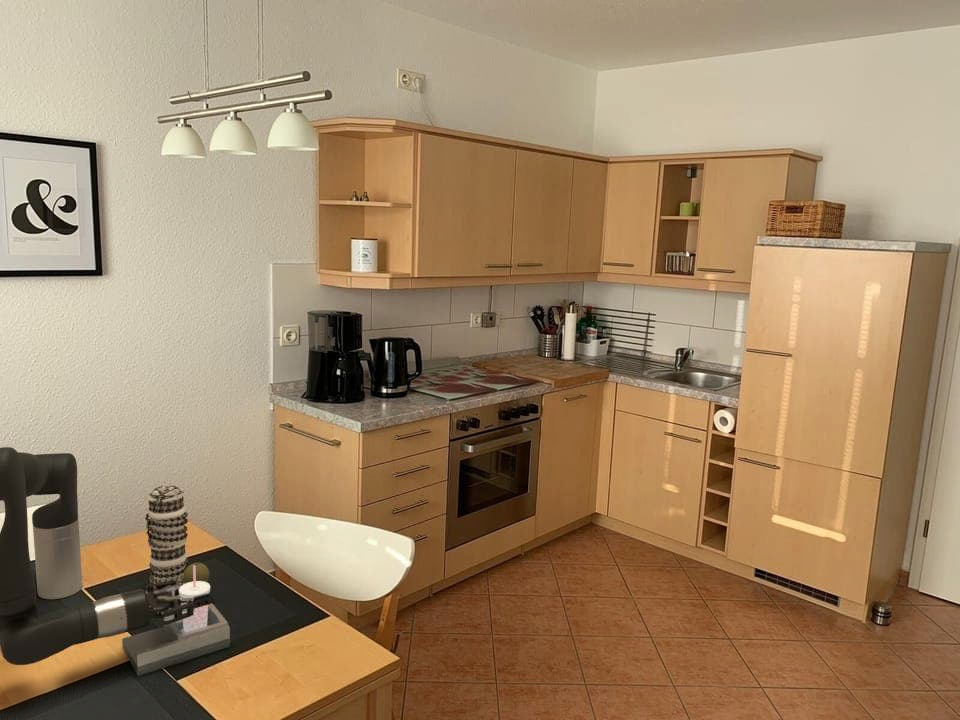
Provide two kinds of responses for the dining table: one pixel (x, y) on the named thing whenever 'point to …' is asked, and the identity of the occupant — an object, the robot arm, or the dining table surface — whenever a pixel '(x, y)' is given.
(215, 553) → the dining table surface
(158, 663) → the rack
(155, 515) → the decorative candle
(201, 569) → the light bulb
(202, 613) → the beverage cup
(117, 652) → the dining table surface
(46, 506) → the robot arm
